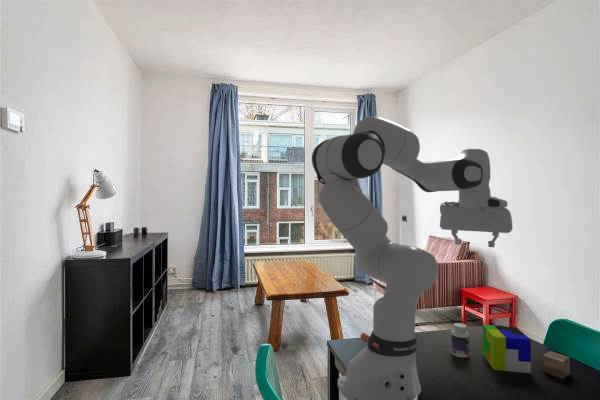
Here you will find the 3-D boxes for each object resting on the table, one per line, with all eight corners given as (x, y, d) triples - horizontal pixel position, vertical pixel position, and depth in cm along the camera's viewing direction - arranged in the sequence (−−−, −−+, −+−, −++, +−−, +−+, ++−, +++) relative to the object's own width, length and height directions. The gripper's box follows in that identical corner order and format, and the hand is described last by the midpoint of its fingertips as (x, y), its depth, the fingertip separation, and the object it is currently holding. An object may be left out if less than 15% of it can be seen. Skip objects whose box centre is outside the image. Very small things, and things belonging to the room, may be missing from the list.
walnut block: (562, 379, 98) (562, 361, 98) (542, 371, 102) (542, 355, 102) (569, 374, 101) (569, 357, 101) (549, 367, 105) (549, 351, 105)
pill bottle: (470, 359, 110) (470, 329, 110) (452, 356, 111) (452, 326, 111) (467, 352, 115) (467, 323, 115) (450, 349, 117) (450, 321, 117)
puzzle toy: (530, 373, 101) (530, 339, 101) (493, 369, 103) (493, 336, 103) (516, 358, 111) (516, 327, 111) (482, 355, 113) (483, 324, 113)
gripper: (437, 201, 111) (436, 244, 111) (510, 201, 98) (510, 249, 98) (442, 201, 116) (442, 242, 116) (513, 201, 103) (513, 247, 103)
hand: (474, 245), depth 107 cm, fingers open, 8 cm apart
